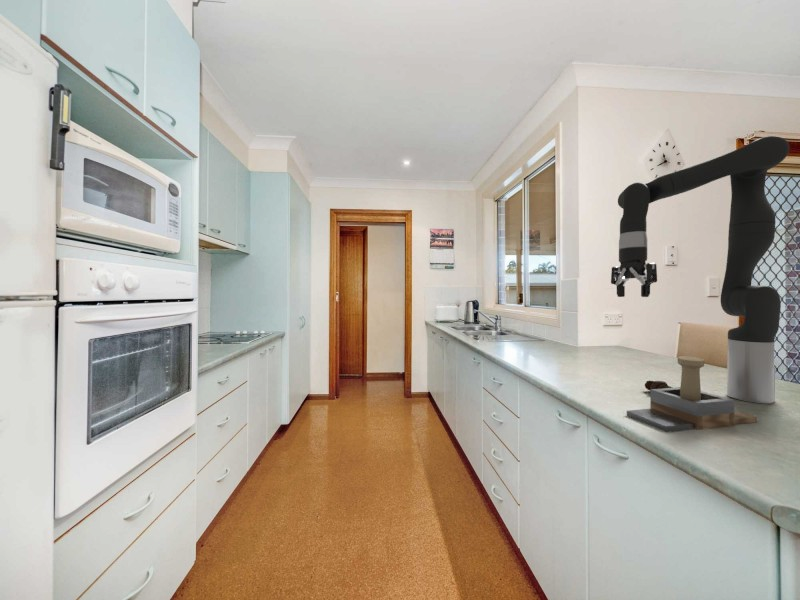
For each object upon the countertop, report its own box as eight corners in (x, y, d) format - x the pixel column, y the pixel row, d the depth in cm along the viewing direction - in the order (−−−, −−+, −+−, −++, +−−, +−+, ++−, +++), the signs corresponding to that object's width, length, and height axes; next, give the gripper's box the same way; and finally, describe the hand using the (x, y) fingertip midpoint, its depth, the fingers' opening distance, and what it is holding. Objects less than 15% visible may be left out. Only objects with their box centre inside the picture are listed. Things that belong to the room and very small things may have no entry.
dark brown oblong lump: (651, 396, 101) (692, 412, 86) (637, 388, 102) (675, 403, 87) (660, 381, 101) (703, 394, 86) (646, 373, 102) (686, 384, 87)
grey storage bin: (683, 408, 85) (684, 386, 85) (734, 425, 75) (734, 400, 74) (624, 414, 82) (625, 391, 81) (668, 432, 71) (669, 406, 71)
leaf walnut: (707, 406, 87) (707, 395, 87) (759, 422, 76) (760, 410, 76) (650, 412, 83) (650, 400, 83) (697, 429, 72) (697, 416, 72)
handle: (703, 417, 79) (704, 357, 79) (703, 425, 75) (703, 361, 75) (678, 412, 83) (678, 355, 83) (676, 419, 78) (676, 359, 78)
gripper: (664, 244, 97) (663, 297, 97) (623, 250, 111) (622, 296, 111) (644, 243, 96) (643, 297, 96) (604, 250, 110) (604, 296, 110)
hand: (632, 296), depth 104 cm, fingers open, 8 cm apart
